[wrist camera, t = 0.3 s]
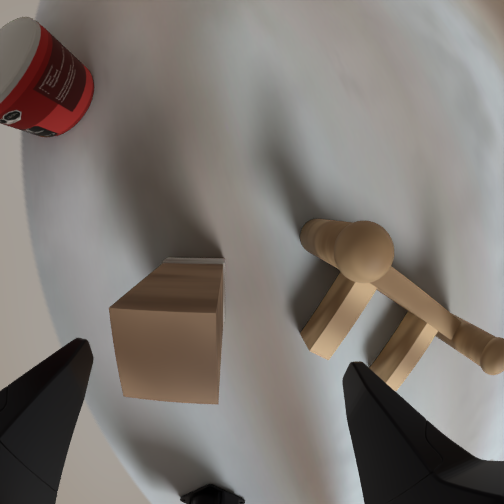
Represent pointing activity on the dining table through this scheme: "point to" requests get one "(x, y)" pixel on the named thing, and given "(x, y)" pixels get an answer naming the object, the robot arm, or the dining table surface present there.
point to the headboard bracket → (394, 287)
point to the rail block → (172, 332)
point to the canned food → (40, 81)
